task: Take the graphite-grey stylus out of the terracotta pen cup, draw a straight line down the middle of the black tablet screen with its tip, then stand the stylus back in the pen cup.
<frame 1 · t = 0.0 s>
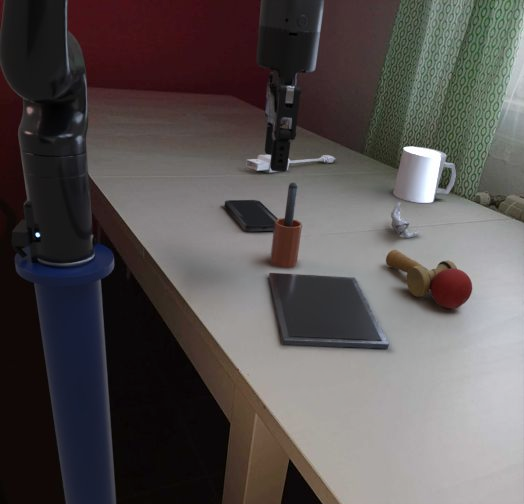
hand: (275, 162, 74), 18 cm above the table, tool pointing down, fingers open, 8 cm apart
tablet: (322, 309, 78), on the table
pen cup: (283, 262, 91), on the table
stylus: (283, 259, 91), resting on pen cup
phone: (251, 218, 108), on the table
mug: (418, 197, 133), on the table
charging cable: (293, 168, 146), on the table
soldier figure: (397, 232, 110), on the table
kendama: (420, 289, 88), on the table
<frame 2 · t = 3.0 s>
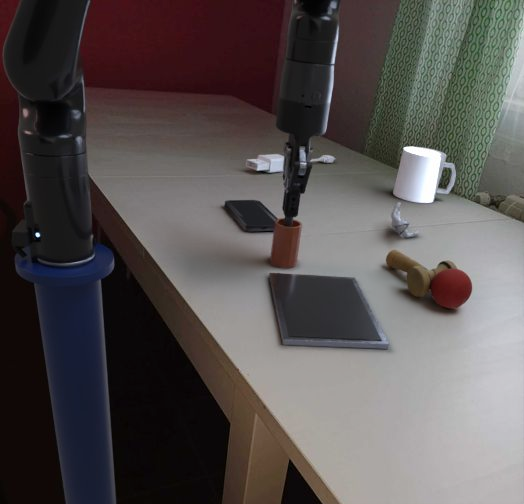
hand: (289, 213, 86), 9 cm above the table, tool pointing down, fingers closed on stylus, 1 cm apart
stylus: (283, 259, 91), point 1 cm above the table, touching gripper
everything else where it was.
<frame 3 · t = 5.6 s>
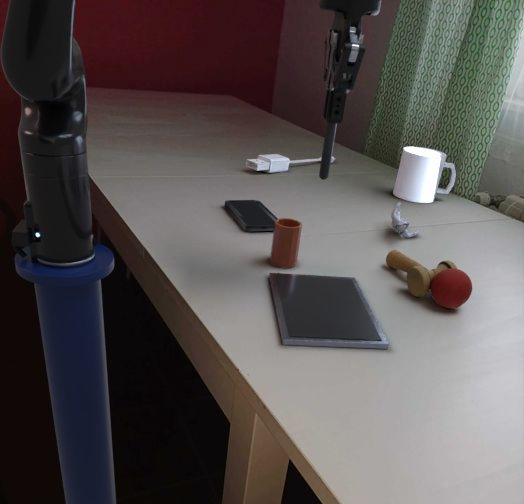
hand: (332, 120, 74), 24 cm above the table, tool pointing down, fingers closed on stylus, 1 cm apart
stylus: (323, 179, 78), point 16 cm above the table, touching gripper
everything else where it was.
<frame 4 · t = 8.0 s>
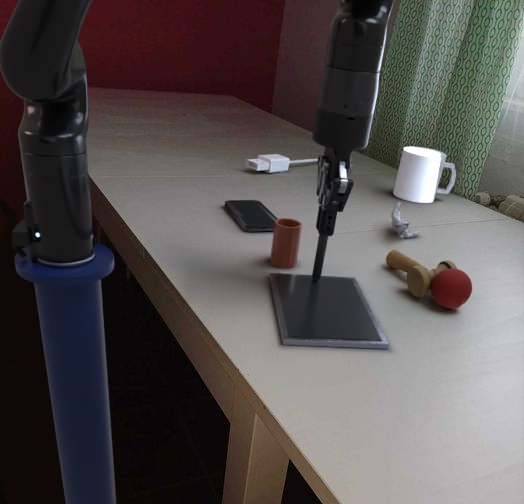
hand: (324, 232, 80), 9 cm above the table, tool pointing down, fingers closed on stylus, 1 cm apart
stylus: (315, 280, 84), point 1 cm above the table, touching gripper, tablet
everything else where it was.
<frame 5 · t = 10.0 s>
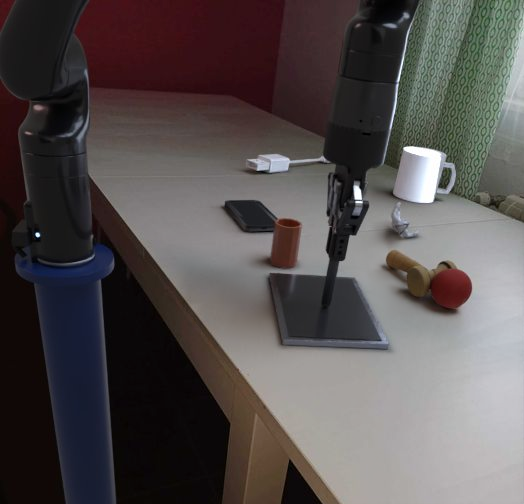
hand: (334, 256, 73), 9 cm above the table, tool pointing down, fingers closed on stylus, 1 cm apart
stylus: (325, 306, 77), point 1 cm above the table, touching gripper
everything else where it was.
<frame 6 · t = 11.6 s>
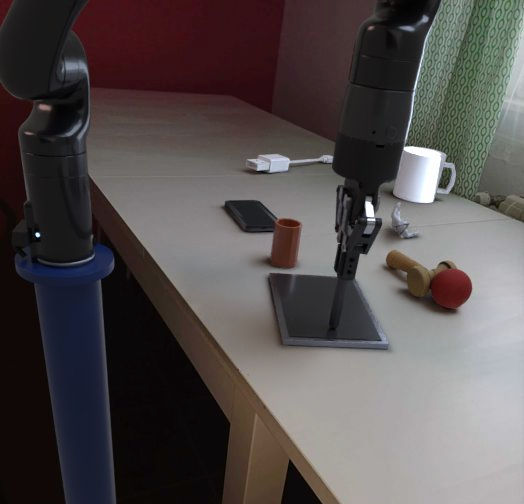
hand: (343, 275, 68), 9 cm above the table, tool pointing down, fingers closed on stylus, 1 cm apart
stylus: (333, 328, 72), point 1 cm above the table, touching gripper, tablet
everything else where it was.
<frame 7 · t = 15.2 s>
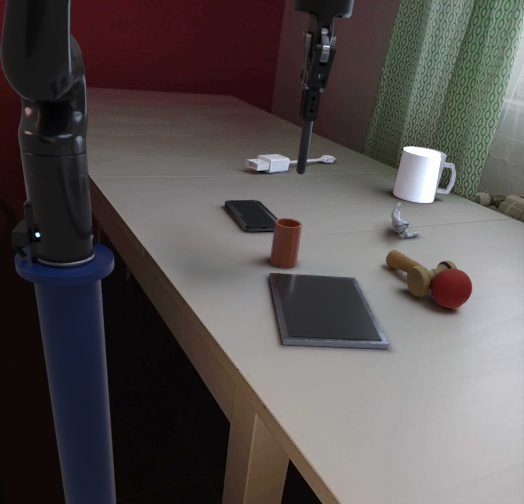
hand: (307, 118, 76), 23 cm above the table, tool pointing down, fingers closed on stylus, 1 cm apart
stylus: (300, 174, 81), point 16 cm above the table, touching gripper
everything else where it was.
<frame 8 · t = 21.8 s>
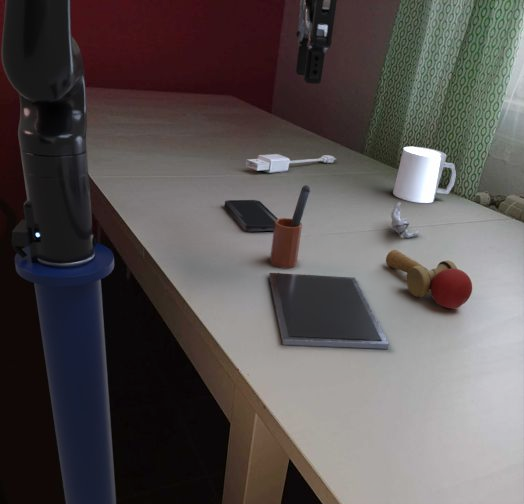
hand: (307, 78, 76), 28 cm above the table, tool pointing down, fingers open, 8 cm apart
stylus: (283, 259, 91), point 1 cm above the table, tilted 9°, touching pen cup
everything else where it was.
at the end: stylus 0.0 cm off-centre in the pen cup, point 0.5 cm above the pen cup's base; stylus tilted 9°; the gripper is holding nothing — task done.
